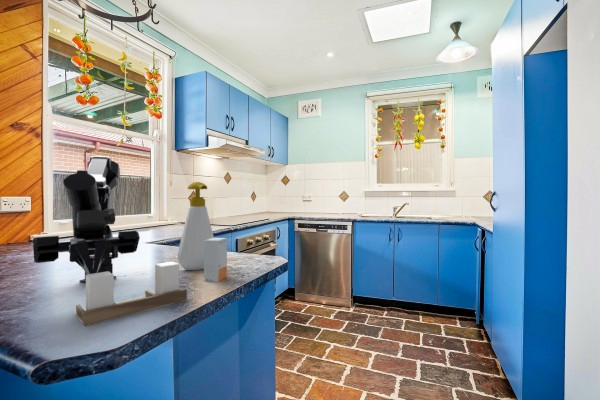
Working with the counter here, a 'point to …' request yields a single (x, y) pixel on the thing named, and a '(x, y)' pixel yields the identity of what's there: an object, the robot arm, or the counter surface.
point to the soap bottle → (195, 231)
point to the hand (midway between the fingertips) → (93, 277)
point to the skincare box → (215, 259)
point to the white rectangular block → (166, 277)
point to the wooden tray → (130, 306)
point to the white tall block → (99, 290)
